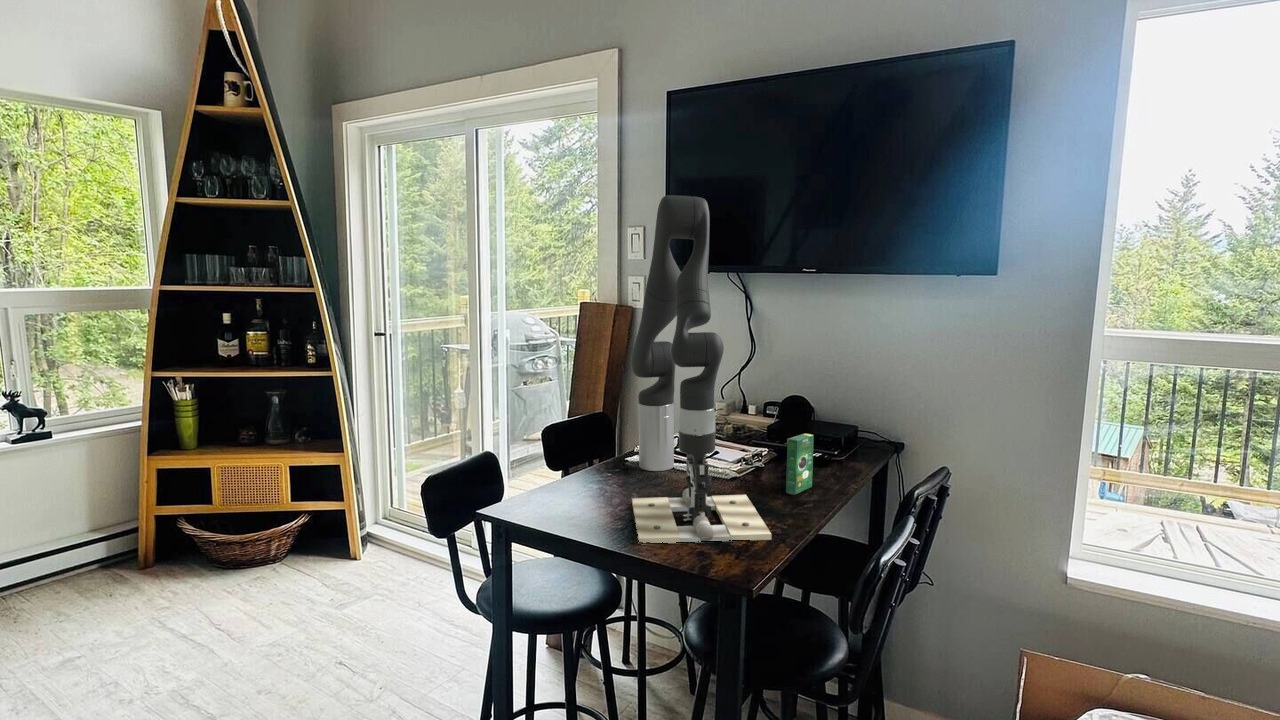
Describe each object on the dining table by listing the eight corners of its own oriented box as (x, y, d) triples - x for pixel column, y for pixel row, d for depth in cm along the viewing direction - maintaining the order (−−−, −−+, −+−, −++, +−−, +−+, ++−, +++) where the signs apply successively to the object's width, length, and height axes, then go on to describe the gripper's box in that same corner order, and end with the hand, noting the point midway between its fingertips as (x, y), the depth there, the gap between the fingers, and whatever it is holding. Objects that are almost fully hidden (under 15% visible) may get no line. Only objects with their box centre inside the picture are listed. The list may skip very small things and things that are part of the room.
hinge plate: (632, 503, 159) (632, 489, 158) (746, 499, 161) (746, 486, 160) (638, 544, 136) (638, 528, 136) (771, 539, 138) (771, 524, 137)
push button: (691, 526, 145) (691, 479, 144) (676, 518, 149) (676, 473, 148) (716, 519, 149) (716, 474, 147) (701, 512, 153) (701, 467, 152)
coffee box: (802, 484, 171) (803, 431, 169) (813, 487, 169) (814, 433, 167) (784, 492, 165) (786, 438, 163) (795, 495, 163) (797, 440, 161)
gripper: (674, 421, 152) (675, 493, 155) (683, 437, 138) (683, 516, 141) (709, 420, 153) (709, 492, 155) (721, 436, 139) (720, 515, 141)
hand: (696, 503), depth 148 cm, fingers open, 8 cm apart
